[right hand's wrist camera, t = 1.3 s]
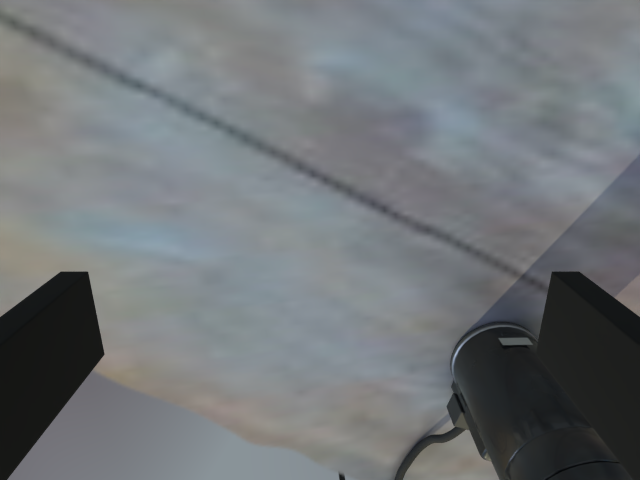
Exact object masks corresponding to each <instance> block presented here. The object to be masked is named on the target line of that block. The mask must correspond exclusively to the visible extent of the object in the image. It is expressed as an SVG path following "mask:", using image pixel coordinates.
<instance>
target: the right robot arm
mask: <svg viewBox="0 0 640 480" xmlns="http://www.w3.org/2000/svg"><path fill="white" fill-rule="evenodd" d="M103 356H104V350H103V345H102V340H101V335H100V330H99V325H98V320H97V315H96V310H95V305H94V300H93V294H92V289H91V284H90V279H89V274H88V272H60V273H58V274H57V275H56V276H54V277H53V278H52V279H50V280H49V281H48V282H46V283H45V284H44V285H42V286H41V287H40V288H38V289H37V290H36V291H34V292H33V293H32V294H30V295H29V296H28V297H26V298H25V299H24V300H22V301H21V302H20V303H18V304H17V305H16V306H14V307H13V308H12V309H10V310H9V311H8V312H6V313H5V314H4V315H2V316H1V317H0V480H7V479H8V478H9V476H10V475H11V474H12V473H13V471H14V470H15V469H16V467H17V466H18V465H19V464H20V462H21V461H22V460H23V458H24V457H25V456H26V455H27V453H28V452H29V451H30V449H31V448H32V447H33V446H34V444H35V443H36V442H37V440H38V439H39V438H40V436H41V435H42V434H43V433H44V431H45V430H46V429H47V428H48V426H49V425H50V424H51V422H52V421H53V420H54V419H55V417H56V416H57V415H58V413H59V412H60V411H61V410H62V408H63V407H64V406H65V404H66V403H67V402H68V401H69V399H70V398H71V397H72V395H73V394H74V393H75V392H76V390H77V389H78V388H79V386H80V385H81V384H82V383H83V381H84V380H85V379H86V377H87V376H88V375H89V374H90V372H91V371H92V370H93V368H94V367H95V366H96V365H97V363H98V362H99V361H100V359H101V358H102V357H103ZM536 356H537V357H538V358H539V359H540V361H541V362H542V363H543V365H544V366H545V367H546V368H547V370H548V371H549V372H550V374H551V375H552V376H553V377H554V379H555V380H556V381H557V383H558V384H559V385H560V386H561V388H562V389H563V390H564V392H565V393H566V394H567V395H568V397H569V398H570V399H571V401H572V402H573V403H574V404H575V406H576V407H577V408H578V410H579V411H580V412H581V413H582V415H583V416H584V417H585V419H586V420H587V421H588V422H589V424H590V425H591V426H592V428H593V429H594V430H595V431H596V433H597V434H598V435H599V437H600V438H601V439H602V440H603V442H604V443H605V444H606V446H607V447H608V448H609V449H610V451H611V452H612V453H613V455H614V456H615V457H616V458H617V460H618V461H619V462H620V464H621V465H622V466H623V467H624V469H625V470H626V471H627V473H628V474H629V475H630V476H631V478H632V479H633V480H640V317H639V316H638V315H636V314H635V313H634V312H632V311H631V310H630V309H628V308H627V307H626V306H624V305H623V304H622V303H620V302H619V301H618V300H616V299H615V298H614V297H612V296H611V295H610V294H608V293H607V292H606V291H604V290H603V289H602V288H600V287H599V286H598V285H596V284H595V283H594V282H592V281H591V280H590V279H588V278H587V277H586V276H584V275H583V274H582V273H580V272H552V274H551V279H550V284H549V289H548V294H547V300H546V305H545V310H544V315H543V320H542V325H541V330H540V335H539V340H538V345H537V350H536Z"/></svg>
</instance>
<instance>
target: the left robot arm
mask: <svg viewBox="0 0 640 480" xmlns="http://www.w3.org/2000/svg"><path fill="white" fill-rule="evenodd" d="M537 345H538V340H537V339H536V338H535V336H534V335H533V334H532V333H531V332H530V331H528V330H527V329H525V328H524V327H522V326H519V325H517V324H513V323H507V322H497V323H490V324H486V325H483V326H481V327H478V328H476V329H474V330H473V331H471V332H470V333H468V334H467V335H466V336H464V337H463V338H462V339H461V341H460V342H459V343H458V344H457V346H456V347H455V349H454V351H453V354H452V357H451V363H450V368H451V373H452V376H453V379H454V382H453V384H452V386H451V388H452V390H453V392H454V393H453V395H452V397H451V399H450V401H449V403H448V405H447V409H448V412H449V414H450V417H451V420H452V422H453V425H454V426H455V428H453V429H452V430H451V431H449V432H447V433H445V434H441V435H430V436H428V437H426V438H425V439H423V440H422V441H421V442H419V443H418V444H417V445H416V446H415V447H414V448H413V449H412V451H411V452H410V453H409V454H408V456H407V457H406V459H405V460H404V462H403V463H402V465H401V466H400V468H399V470H398V472H397V474H396V477H395V480H403V477H404V475H405V473H406V471H407V469H408V468H409V466H410V465H411V464H412V462H413V461H414V459H415V458H416V457H417V456H418V454H419V453H420V452H421V451H422V450H423V449H424V448H426V447H427V446H428V445H430V444H432V443H444V442H447V441H450V440H452V439H453V438H455V437H456V436H458V435H459V434H461V433H462V432H463V431H464V430H466V429H467V430H470V432H471V435H472V437H473V439H474V442H475V444H476V447H477V449H478V451H479V454H480V456H481V457H482V458H483V459H485V460H487V461H491V462H492V464H493V466H494V468H495V470H496V473H497V475H498V477H499V479H500V480H633V479H632V478H631V476H630V475H629V474H628V473H627V471H626V470H625V469H624V467H623V466H622V465H621V464H620V462H619V461H618V460H617V458H616V457H615V456H614V455H613V453H612V452H611V451H610V449H609V448H608V447H607V446H606V444H605V443H604V442H603V440H602V439H601V438H600V437H599V435H598V434H597V433H596V431H595V430H594V429H593V428H592V426H591V425H590V424H589V422H588V421H587V420H586V419H585V417H584V416H583V415H582V413H581V412H580V411H579V410H578V408H577V407H576V406H575V404H574V403H573V402H572V401H571V399H570V398H569V397H568V395H567V394H566V393H565V392H564V390H563V389H562V388H561V386H560V385H559V384H558V383H557V381H556V380H555V379H554V377H553V376H552V375H551V374H550V372H549V371H548V370H547V368H546V367H545V366H544V365H543V363H542V362H541V361H540V359H539V358H538V357H537V356H536V350H537ZM339 480H345V475H343V474H340V473H339Z"/></svg>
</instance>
